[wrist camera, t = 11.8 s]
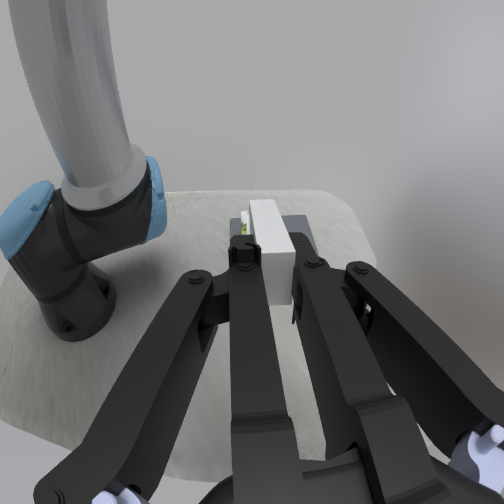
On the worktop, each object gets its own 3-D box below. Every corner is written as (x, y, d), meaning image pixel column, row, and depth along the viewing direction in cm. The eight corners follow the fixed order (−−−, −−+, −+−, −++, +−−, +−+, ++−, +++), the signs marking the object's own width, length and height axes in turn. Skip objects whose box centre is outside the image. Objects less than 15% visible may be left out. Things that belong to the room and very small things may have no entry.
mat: (325, 281, 47) (326, 279, 47) (231, 288, 47) (231, 286, 46) (305, 217, 60) (305, 214, 60) (230, 220, 60) (230, 218, 59)
